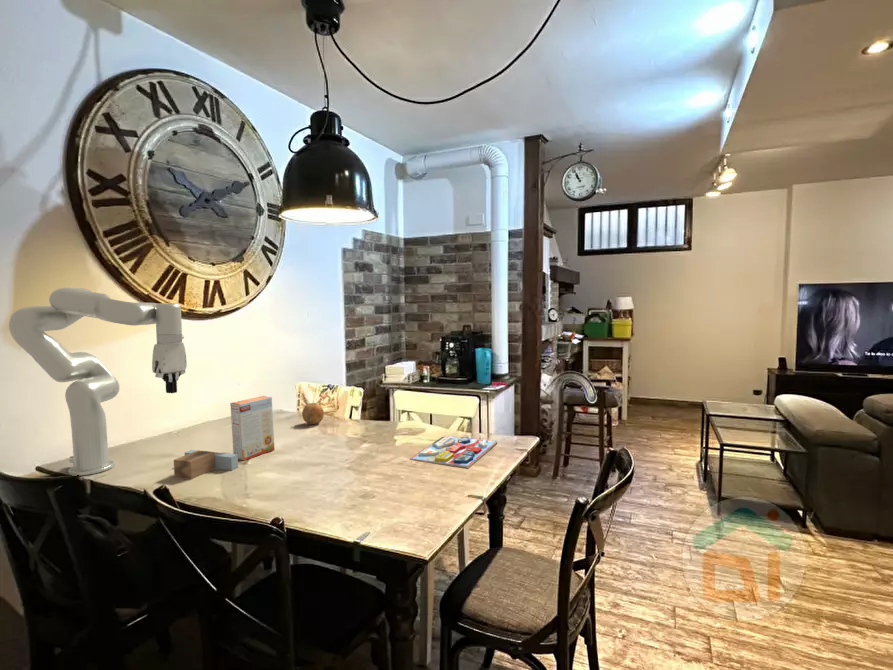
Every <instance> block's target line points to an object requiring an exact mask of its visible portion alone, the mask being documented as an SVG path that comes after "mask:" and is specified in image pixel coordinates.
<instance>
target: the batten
mask: <svg viewBox="0 0 893 670" xmlns="http://www.w3.org/2000/svg"><path fill="white" fill-rule="evenodd" d="M198 450H199V449H198ZM198 450H196V449H190V450H187V451H185V452H184V456H185V455H187V454H190V453H193V452H195V451H198ZM214 452H215V470H216V469H217V470H225V471H226V470H227V471H233V470H236V469H238V468H239V459H238V455H237V454H234V453H226V452H217V451H214Z"/></svg>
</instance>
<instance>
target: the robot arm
mask: <svg viewBox="0 0 893 670" xmlns="http://www.w3.org/2000/svg"><path fill="white" fill-rule="evenodd" d="M48 300H49V301H48V302H49V304H50V305H46V306H45V305H37V306H36V305H35V306H33V305H32V306H25V307H21V308H19V309H17V310H15V311H14V312H13V313H12V314H11V316H10V317H9V321H8V322H9V323H8V329H9V332H10V335H11V337H12V339H13V340H14V342H15V343H17V345H18V346H19V347H20V348H22V349H23V350H24V351H25V352H26V353H27V354H29V356H30V357H31V358H32V359H33V360H34V362H36V363H37V364H38V365H39V366H40V367H41V368H42V370H44V372H46V374H47V375H48V376H49V377H50V378H51V379H52V380H54V381H56V382H58V383H69V382H72V383H71V384H69V386H68V387H66V390H65V394H64V395H65V396H64V397H65V398H64V399H65V402H66V404H67V407H68V408H67V409H68V411H69V417H70V426H71V427H70V428H71V439H72V455H73V457H72V458H69V459H68V462H69V463H72V467H69V469H68V474H69V475H70V476H75V475H79V476H87V475H89V476H90V475H94V474H98V473H103V472H105V471H108V470H111V469H112V468H113V467H114V466H115V461H114V460H111V459H109V446H108V445H109V443H108V430H107V429H108V427H107V418H106V413H105V411H104V408H103V407H102V405H101V403H105V402H107V401H110V400H112V399H114V398H116V397H117V395H118V394H119V392H120V384H119V381H118V379H117V378H116V377H115V375H113V374H112V373H111V371H110V370H109V369H107V367H106V366H105V365H104V364H103V363H102V362H101V361H100V360H99V359H98V358H97V357H96V356H94V355H93V354H92V353H90V352H89V353H88V352H85V351H79V352H76V351H75V352H70V351H68V350H67V349H66V348H65V347H64V346H63V344H62V343H61V342H60V341H58V340H57V339H56V338H54V337H53V336H51V335H49V334H47V333H46V332H49V331H59V330H63V329H66V328H68V327H69V326H71V325H72V324H74V323H76V322H77V321H79V320H81V319H82V318H84V317H88V318H94V319H99V320H101V321H104V322H107V323H108V322H109V323H114V324H119V325H125V326H126V325H127V326H135V327H136V326H147V325H155V331H156V333H155V335H156V344H154V345H153V350H152V357H151V359H152V360H151V362H152V363H151V367H152V368H151V371H152V373H154V374H155V375H154V377H155V378H157V379H158V378H160V379H162V380H163V382H165V392H166V394H175V393H177V392H178V381H179V379H180V376H182V375H184V374H185V373H186V370H187V366H188V365H187V363H188V362H187V352H186V348H185V343H184V342H183V339H184V338H185V336H184V335H183V326H182V323H183V322H182V308H181V305H180V304H179V303H174V302H173V303H171V302H170V303H169V302H168V303H167V302H161V303H155V302H132V301H131V302H130V301H125V300H118V299H113V298H111V297H110V296H109V295H108V294H105V293H103V292H102V293H101V292H95V291H91V290H89V289H86V288H84V287H83V288H82V287H79V288H78V287H60V288H58V289H55V290H54V291H52V292H51V294H50V295H49V298H48ZM73 381H74V382H73ZM79 476H78V477H79Z"/></svg>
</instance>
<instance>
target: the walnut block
mask: <svg viewBox="0 0 893 670" xmlns="http://www.w3.org/2000/svg"><path fill="white" fill-rule="evenodd" d="M215 452H216V451H207V450H199V449H198V451H195V452H193V453H190V454H187V455H185V454H184V455H183V456H180V457H177V458H174V459H173V471H174V473H173V474H174V475H173V476H174V478H177V479H178V478H179V479H186V480H193V479H195V478H198V477H199V476H202V475H204V474H206V473H209V472H211V471H212V470H216V468H215Z"/></svg>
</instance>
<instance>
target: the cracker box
mask: <svg viewBox="0 0 893 670" xmlns="http://www.w3.org/2000/svg"><path fill="white" fill-rule="evenodd" d="M273 414H274V413H273V397H272V396H265V395H261V396H257V397H252V398H247V399H244V400H237V401H234V402H233V401H232V402H230V419H231V420H230V421H231V433H232V434H231V435H232V436H231V437H232V451H233V453H232V454H237V455H238V461H246V460H249V459H251V458H255V457H258V456H261V455H264V454H267V453H269V452H273V451H275V434H274V433H275V429H274V415H273Z"/></svg>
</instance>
